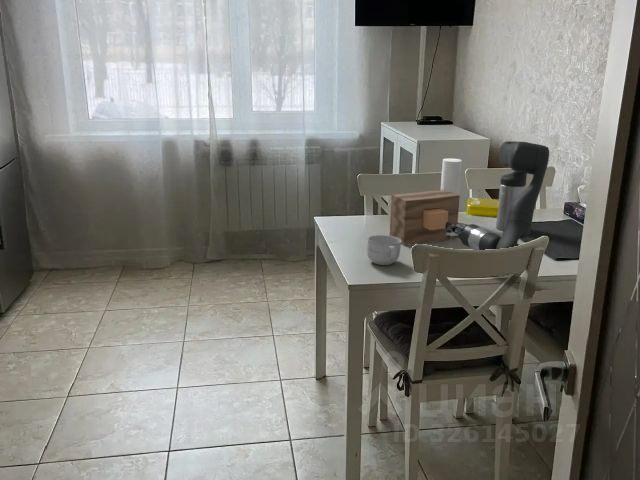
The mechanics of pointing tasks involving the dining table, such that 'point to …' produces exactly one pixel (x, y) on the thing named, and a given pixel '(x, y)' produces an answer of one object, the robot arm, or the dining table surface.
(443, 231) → the wooden box
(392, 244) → the teacup
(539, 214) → the dining table surface
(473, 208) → the element tile
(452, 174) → the cylindrical container
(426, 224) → the light brown block
